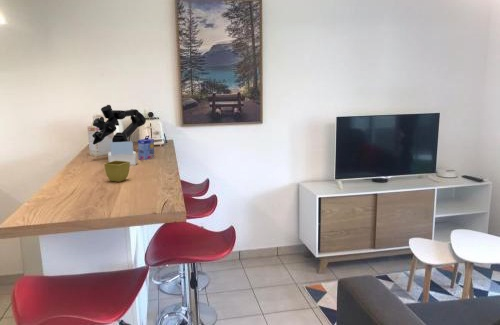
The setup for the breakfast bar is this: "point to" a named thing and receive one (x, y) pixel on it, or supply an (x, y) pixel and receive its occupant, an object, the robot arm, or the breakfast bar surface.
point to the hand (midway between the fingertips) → (97, 141)
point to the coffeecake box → (100, 147)
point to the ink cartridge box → (146, 148)
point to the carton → (123, 158)
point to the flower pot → (117, 170)
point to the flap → (121, 148)
